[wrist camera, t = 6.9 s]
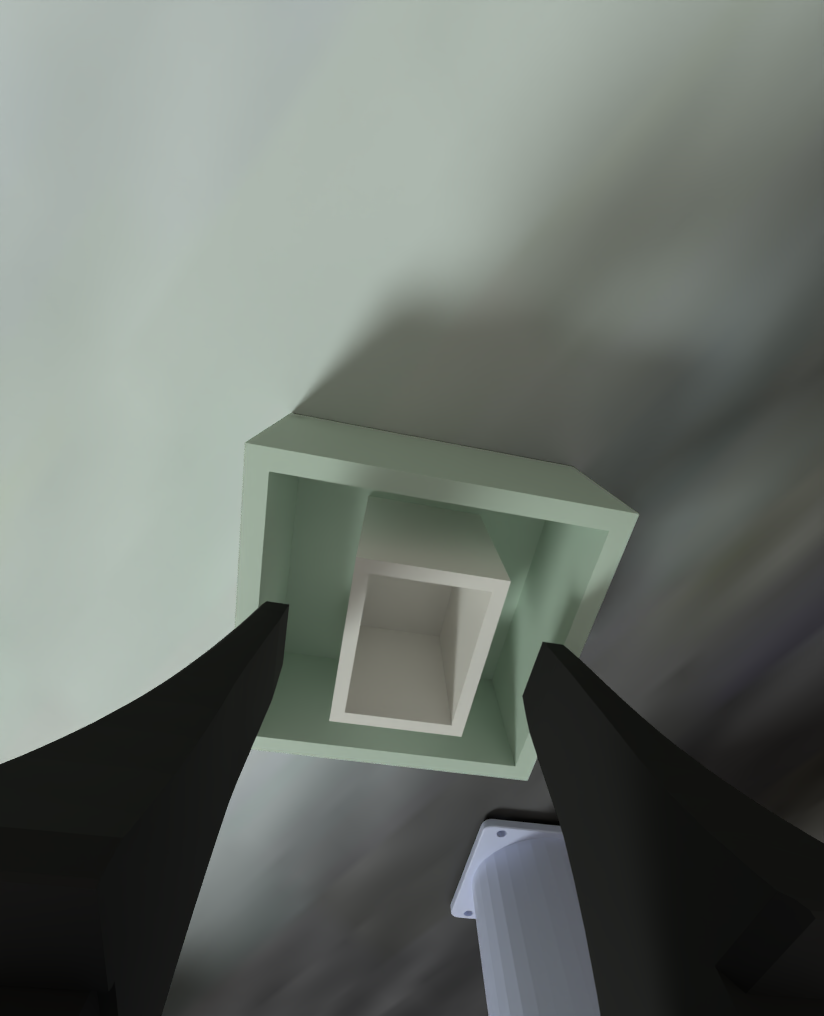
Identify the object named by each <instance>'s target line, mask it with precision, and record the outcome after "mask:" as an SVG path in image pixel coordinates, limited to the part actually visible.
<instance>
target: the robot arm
mask: <svg viewBox="0 0 824 1016" xmlns="http://www.w3.org/2000/svg"><path fill="white" fill-rule="evenodd" d="M288 613H289V604H283V603H276V602H269V601H266V602H265V603H263V604H262V605H261V606H260V607H258V608H257V609H256V610H255V611H254V612H253V613H252V614H251V615H250V616H249V617H248V618H247V619H245V620H244V621H243V622H242V623H241V624H240V625H239V626H237V627H236V628H235V629H234V630H233V631H232V632H230V633H229V634H228V635H227V636H226V637H224V638H223V639H222V640H221V641H220V642H218V643H217V644H216V645H215V646H213V647H212V648H211V649H210V650H208V651H207V652H206V653H204V654H203V655H202V656H200V657H199V658H198V659H196V660H195V661H194V662H192V663H191V664H190V665H188V666H187V667H185V668H184V669H183V670H181V671H180V672H178V673H177V674H175V675H174V676H173V677H171V678H170V679H168V680H167V681H165V682H164V683H162V684H160V685H159V686H157V687H156V688H154V689H152V690H151V691H149V692H148V693H146V694H144V695H143V696H141V697H139V698H138V699H136V700H134V701H132V702H131V703H129V704H127V705H125V706H123V707H121V708H120V709H118V710H116V711H114V712H112V713H110V714H109V715H107V716H105V717H103V718H101V719H99V720H98V721H96V722H94V723H92V724H90V725H88V726H86V727H84V728H81V729H79V730H77V731H75V732H73V733H71V734H69V735H67V736H65V737H63V738H60V739H58V740H56V741H54V742H52V743H49V744H47V745H45V746H43V747H41V748H38V749H36V750H34V751H31V752H29V753H27V754H24V755H22V756H20V757H17V758H15V759H12V760H10V761H7V762H5V763H2V764H0V1016H161V1015H162V1011H163V1008H164V1005H165V1001H166V998H167V995H168V992H169V988H170V985H171V982H172V978H173V975H174V972H175V968H176V965H177V962H178V959H179V956H180V952H181V949H182V946H183V943H184V940H185V936H186V933H187V930H188V927H189V923H190V920H191V917H192V914H193V911H194V907H195V904H196V901H197V898H198V895H199V892H200V889H201V886H202V883H203V879H204V876H205V873H206V870H207V867H208V864H209V861H210V858H211V855H212V852H213V848H214V845H215V842H216V839H217V836H218V833H219V830H220V827H221V824H222V821H223V818H224V815H225V812H226V809H227V806H228V803H229V801H230V798H231V796H232V793H233V791H234V788H235V785H236V783H237V780H238V778H239V776H240V774H241V771H242V769H243V767H244V764H245V762H246V760H247V757H248V755H249V753H250V750H251V748H252V746H253V743H254V741H255V739H256V736H257V734H258V732H259V729H260V727H261V725H262V722H263V720H264V718H265V715H266V713H267V711H268V708H269V706H270V704H271V701H272V699H273V695H274V692H275V689H276V686H277V682H278V679H279V676H280V672H281V669H282V666H283V659H284V650H285V640H286V631H287V622H288ZM522 697H523V703H524V709H525V714H526V719H527V724H528V728H529V733H530V736H531V739H532V742H533V745H534V748H535V751H536V754H537V757H538V760H539V763H540V766H541V769H542V772H543V775H544V778H545V781H546V784H547V787H548V790H549V793H550V796H551V799H552V802H553V805H554V808H555V811H556V814H557V817H558V820H559V823H560V826H557V825H548V824H538V823H528V822H519V821H509V820H499V819H488V820H485V821H484V822H483V823H482V824H481V827H480V830H479V832H478V835H477V837H476V840H475V843H474V845H473V848H472V850H471V853H470V856H469V858H468V861H467V863H466V866H465V869H464V871H463V874H462V876H461V879H460V882H459V884H458V887H457V889H456V892H455V895H454V897H453V900H452V902H451V913H452V915H453V916H455V917H460V918H473V919H476V924H477V932H478V939H479V947H480V954H481V962H482V969H483V977H484V984H485V992H486V1000H487V1007H488V1015H489V1016H824V843H822V842H820V841H819V840H817V839H815V838H814V837H812V836H810V835H808V834H807V833H805V832H803V831H802V830H800V829H798V828H797V827H795V826H793V825H792V824H790V823H788V822H787V821H785V820H783V819H782V818H780V817H778V816H777V815H775V814H774V813H772V812H770V811H769V810H767V809H766V808H764V807H763V806H761V805H759V804H758V803H756V802H755V801H753V800H752V799H750V798H749V797H747V796H746V795H744V794H743V793H741V792H740V791H738V790H737V789H735V788H734V787H732V786H731V785H729V784H728V783H726V782H725V781H723V780H722V779H721V778H719V777H718V776H716V775H715V774H713V773H712V772H711V771H709V770H708V769H706V768H705V767H704V766H702V765H701V764H700V763H698V762H697V761H696V760H694V759H693V758H692V757H690V756H689V755H688V754H687V753H685V752H684V751H683V750H681V749H680V748H679V747H677V746H676V745H675V744H674V743H672V742H671V741H670V740H669V739H667V738H666V737H665V736H664V735H662V734H661V733H660V732H659V731H658V730H656V729H655V728H654V727H653V726H652V725H651V724H649V723H648V722H647V721H646V720H645V719H644V718H642V717H641V716H640V715H639V714H638V713H637V712H636V711H635V710H633V709H632V708H631V707H630V706H629V705H628V704H627V703H626V702H625V701H623V700H622V699H621V698H620V697H619V696H618V695H617V694H616V693H615V692H614V691H613V690H612V689H611V688H609V687H608V686H607V685H606V684H605V683H604V682H603V681H602V680H601V679H600V678H599V677H598V676H597V675H596V674H595V673H594V672H593V671H592V670H591V669H589V668H588V667H587V666H586V665H585V664H584V663H583V662H582V661H581V660H580V659H579V658H578V657H577V656H576V655H574V654H573V653H572V652H571V651H570V650H569V649H568V648H566V647H565V646H564V645H562V644H556V643H549V642H542V645H541V647H540V650H539V653H538V655H537V658H536V661H535V663H534V666H533V669H532V671H531V674H530V677H529V679H528V682H527V685H526V687H525V690H524V693H523V695H522Z"/></svg>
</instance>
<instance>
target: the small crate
mask: <svg viewBox="0 0 824 1016" xmlns="http://www.w3.org/2000/svg"><path fill="white" fill-rule="evenodd" d="M510 583H511V580H510V578H509V576H508V574H507V572H506V570H505V567H504V565H503V563H502V561H501V559H500V557H499V555H498V552H497V550H496V548H495V546H494V544H493V542H492V540H491V537H490V535H489V533H488V531H487V529H486V527H485V525H484V523H483V520H482V518H481V516H480V515H478V514H472V513H466V512H460V511H455V510H449V509H443V508H437V507H431V506H425V505H420V504H414V503H408V502H402V501H396V500H390V499H384V498H379V497H373V496H368V500H367V505H366V510H365V515H364V520H363V525H362V530H361V535H360V540H359V545H358V550H357V555H356V560H355V566H354V573H353V579H352V585H351V591H350V597H349V603H348V609H347V615H346V622H345V628H344V634H343V640H342V646H341V652H340V658H339V664H338V670H337V677H336V683H335V689H334V695H333V701H332V707H331V713H330V719H329V721H333V722H342V723H350V724H358V725H367V726H375V727H383V728H392V729H400V730H409V731H417V732H425V733H434V734H442V735H450V736H459V737H462V734H463V730H464V727H465V724H466V721H467V718H468V715H469V712H470V708H471V705H472V702H473V699H474V696H475V693H476V690H477V686H478V683H479V680H480V677H481V674H482V671H483V668H484V664H485V661H486V658H487V655H488V652H489V649H490V646H491V643H492V639H493V636H494V633H495V630H496V627H497V624H498V621H499V617H500V614H501V611H502V608H503V605H504V602H505V599H506V595H507V592H508V589H509V586H510Z"/></svg>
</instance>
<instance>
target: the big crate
mask: <svg viewBox="0 0 824 1016" xmlns="http://www.w3.org/2000/svg"><path fill="white" fill-rule="evenodd" d="M368 496H373V497H379V498H384V499H390V500H396V501H402V502H408V503H414V504H420V505H425V506H431V507H437V508H443V509H449V510H455V511H460V512H466V513H472V514H478V515H480V516H481V518H482V520H483V523H484V525H485V527H486V529H487V531H488V533H489V535H490V537H491V540H492V542H493V544H494V546H495V548H496V550H497V552H498V555H499V557H500V559H501V561H502V563H503V565H504V567H505V570H506V572H507V574H508V576H509V578H510V580H511V583H510V586H509V589H508V592H507V595H506V599H505V602H504V605H503V608H502V611H501V614H500V617H499V621H498V624H497V627H496V630H495V633H494V636H493V639H492V643H491V646H490V649H489V652H488V655H487V658H486V661H485V664H484V668H483V671H482V674H481V677H480V680H479V683H478V686H477V690H476V693H475V696H474V699H473V702H472V705H471V708H470V712H469V715H468V718H467V721H466V724H465V727H464V730H463V734H462V737H459V736H450V735H442V734H434V733H425V732H417V731H409V730H400V729H392V728H383V727H375V726H367V725H358V724H350V723H342V722H333V721H329V719H330V713H331V707H332V701H333V695H334V689H335V683H336V677H337V670H338V664H339V658H340V652H341V646H342V640H343V634H344V628H345V622H346V615H347V609H348V603H349V597H350V591H351V585H352V579H353V573H354V566H355V560H356V555H357V550H358V545H359V540H360V535H361V530H362V525H363V520H364V515H365V510H366V505H367V500H368ZM638 516H639V513H637V512H636V511H634V510H633V509H632V508H630V507H629V506H627V505H626V504H625V503H623V502H622V501H620V500H619V499H618V498H616V497H615V496H613V495H612V494H611V493H609V492H608V491H606V490H605V489H604V488H602V487H601V486H599V485H598V484H597V483H595V482H594V481H592V480H591V479H590V478H588V477H587V476H585V475H584V474H583V473H581V472H580V471H578V470H577V469H576V468H574V467H572V466H567V465H562V464H557V463H551V462H546V461H541V460H535V459H530V458H525V457H520V456H514V455H509V454H504V453H499V452H493V451H488V450H483V449H477V448H472V447H467V446H462V445H456V444H451V443H446V442H441V441H435V440H430V439H425V438H419V437H414V436H409V435H404V434H398V433H393V432H388V431H383V430H377V429H372V428H367V427H361V426H356V425H351V424H346V423H340V422H335V421H330V420H324V419H319V418H314V417H309V416H303V415H298V414H293V413H290V414H289V415H287V416H285V417H284V418H282V419H281V420H279V421H278V422H276V423H275V424H273V425H272V426H270V427H268V428H267V429H265V430H264V431H262V432H261V433H259V434H258V435H256V436H255V437H253V438H251V439H250V440H248V441H247V442H245V451H244V469H243V488H242V506H241V524H240V542H239V560H238V578H237V596H236V615H235V628H236V627H237V626H239V625H240V624H241V623H242V622H243V621H244V620H245V619H247V618H248V617H249V616H250V615H251V614H252V613H253V612H254V611H255V610H256V609H257V608H258V607H260V606H261V605H262V604H263V603H265V602H266V601H269V602H276V603H283V604H289V613H288V622H287V631H286V640H285V650H284V659H283V666H282V669H281V672H280V676H279V679H278V682H277V686H276V689H275V692H274V695H273V699H272V701H271V704H270V706H269V708H268V711H267V713H266V715H265V718H264V720H263V722H262V725H261V727H260V729H259V732H258V734H257V736H256V739H255V741H254V743H253V746H252V748H251V749H252V750H261V751H269V752H278V753H287V754H296V755H305V756H314V757H322V758H331V759H340V760H349V761H358V762H367V763H375V764H384V765H393V766H402V767H411V768H420V769H428V770H437V771H446V772H455V773H464V774H473V775H481V776H490V777H499V778H508V779H517V780H526V781H528V778H529V776H530V774H531V771H532V769H533V766H534V764H535V762H536V759H537V754H536V751H535V748H534V745H533V742H532V739H531V736H530V733H529V728H528V724H527V719H526V714H525V709H524V703H523V697H522V695H523V693H524V690H525V687H526V685H527V682H528V679H529V677H530V674H531V671H532V669H533V666H534V663H535V661H536V658H537V655H538V653H539V650H540V647H541V645H542V642H549V643H556V644H562V645H564V646H565V647H566V648H568V649H569V650H570V651H571V652H572V653H573V654H574V655H576V656H577V657H578V658H579V657H580V654H581V652H582V650H583V647H584V645H585V643H586V640H587V638H588V635H589V633H590V631H591V628H592V626H593V624H594V621H595V619H596V616H597V614H598V612H599V609H600V607H601V604H602V602H603V600H604V597H605V595H606V593H607V590H608V588H609V585H610V583H611V581H612V578H613V576H614V574H615V571H616V569H617V566H618V564H619V562H620V559H621V557H622V554H623V552H624V550H625V547H626V545H627V543H628V540H629V538H630V535H631V533H632V531H633V528H634V526H635V524H636V521H637V519H638Z"/></svg>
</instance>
